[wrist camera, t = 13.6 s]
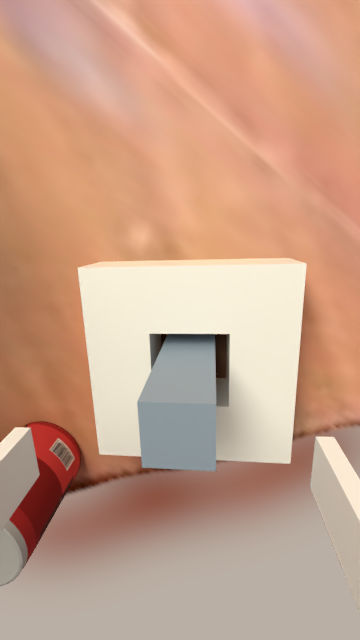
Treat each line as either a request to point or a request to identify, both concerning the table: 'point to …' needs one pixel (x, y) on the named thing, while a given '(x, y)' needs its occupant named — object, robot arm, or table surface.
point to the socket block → (198, 318)
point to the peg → (180, 406)
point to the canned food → (39, 497)
